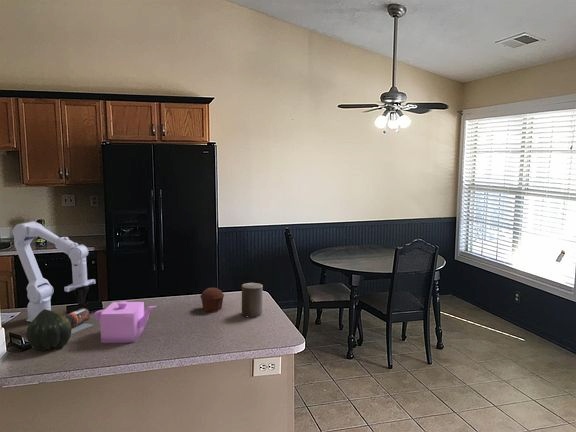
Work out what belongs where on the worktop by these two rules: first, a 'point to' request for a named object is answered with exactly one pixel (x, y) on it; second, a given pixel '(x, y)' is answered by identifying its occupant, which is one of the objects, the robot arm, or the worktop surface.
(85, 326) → the mat
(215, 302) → the muffin
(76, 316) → the supplement bottle
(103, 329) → the teapot
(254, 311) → the grey lidded canister
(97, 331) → the worktop surface
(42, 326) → the squash
